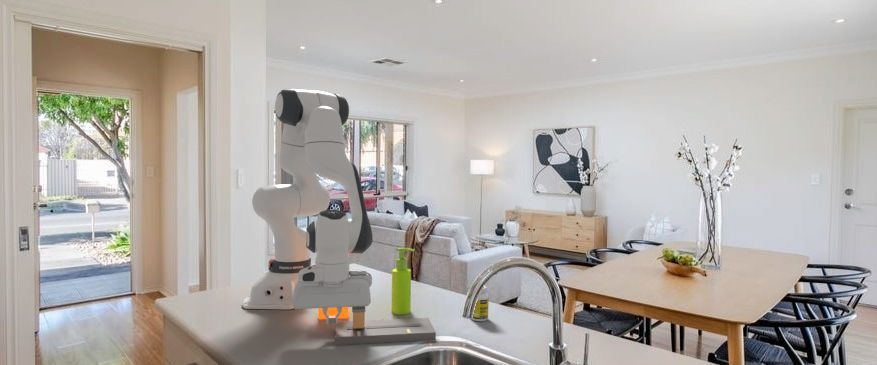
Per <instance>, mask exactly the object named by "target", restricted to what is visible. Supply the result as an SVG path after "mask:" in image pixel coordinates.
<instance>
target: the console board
mask: <svg viewBox="0 0 877 365" xmlns="http://www.w3.org/2000/svg"><path fill="white" fill-rule="evenodd" d="M436 334H437V332H436V330H435V328H434V326H433V325H432V322H431V321H430V318H429V317H419V318H418V317H415V318H397V319H396V318H395V319H392V318H391V319H375V320H372V319H371V320H370V319H369V320H365V324H364V328H355V329H353V320H351V321H350V320H349V321H338V324H335V332H334V346H347V345H365V344H382V343H400V342H419V341H421V342H422V341H435V340H436V338H437V337H436V336H437V335H436Z"/></svg>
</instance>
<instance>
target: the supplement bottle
mask: <svg viewBox="0 0 877 365" xmlns="http://www.w3.org/2000/svg"><path fill="white" fill-rule="evenodd" d="M483 286H484V288H483V289H482V291H481V293H480V295H479V298H478V301H477V303H476V306H475V310H474V314H473V318H472V319H471V320H472V321H476V322H486V321H487V320H488V319H489V299H490V298H489V297H490V296H489V294H488V293H487V289H488V288H487V286H486V285H483Z"/></svg>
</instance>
